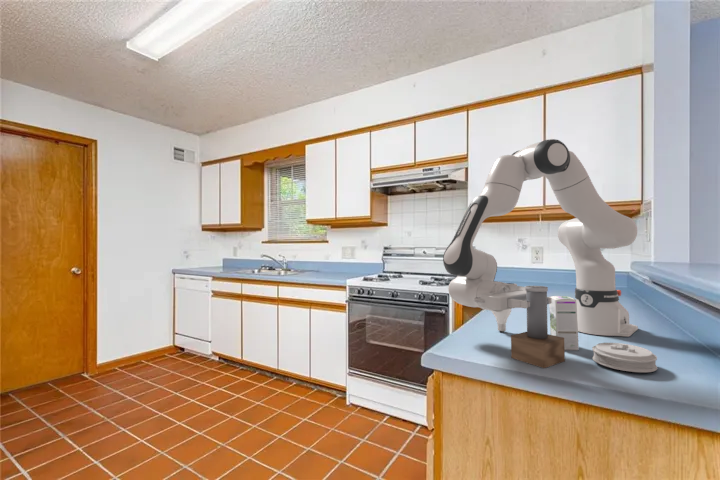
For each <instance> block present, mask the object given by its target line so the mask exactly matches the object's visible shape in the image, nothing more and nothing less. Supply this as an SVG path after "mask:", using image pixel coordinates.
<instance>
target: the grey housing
mask: <svg viewBox="0 0 720 480" xmlns="http://www.w3.org/2000/svg"><path fill="white" fill-rule="evenodd" d="M524 287H526V297H527V301H529V302H530V308H526V332H527V336H528V337H531V338H536V339H546V338H548V334H549V332H548V304H547V297H548V292H549V289H548V288H549V287H548V286H543V285H525V286H524Z"/></svg>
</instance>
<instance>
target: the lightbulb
mask: <svg viewBox="0 0 720 480" xmlns="http://www.w3.org/2000/svg"><path fill="white" fill-rule="evenodd" d="M491 312H492V314H493V315H494V317H495V321H496V322H497V323H496V324H497V331H499V332H501V333H504V332H505V331H506V332H507V328H506V327H507V325H506V324H507V321H508V319H509V317H510V315H511V313H512V309H507V310H503V311H501V312H495V311H491Z"/></svg>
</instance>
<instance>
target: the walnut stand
mask: <svg viewBox="0 0 720 480" xmlns="http://www.w3.org/2000/svg"><path fill="white" fill-rule="evenodd" d="M510 343H511V344H510V347H511V348H510V349H511V350H510V353H511V359H514V360H517V361H520V362H523V363H527V364H529V365H532V366H535V367H540V368H541V369H546V368H549V367H552V366H554V365H559V364H561V363H563V362H565V360H566V359H565V357H566V356H565V351H566V350H565V349H564V338H563V337H558V336H554V335H551V334H549V333H548V338H546V339H536V338H531V337H528V336H527V331H524V332H519V333H516V334H512V335H510Z"/></svg>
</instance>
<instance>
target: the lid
mask: <svg viewBox="0 0 720 480" xmlns="http://www.w3.org/2000/svg"><path fill="white" fill-rule="evenodd" d="M591 348H592V351H593V356H592V360H593V361H594V362H595V363H597V364H599V365H601V366H604V367H606V368H610V369H614V370H618V371H619V370H620V371H624V372H625V371H626V372H630V373H631V372H632V373H652V372H655V371H657V370H658V365H656V361H657V360H658V356H657V355H656V354H654V353H653V352H652V351H651V350H649V349H647V348H644V347H640V346H638V345H637V346H636V345H632V344H628V343H627V344H626V343H622V342H621V343H620V342H600V343H597V344H596V345H593V346H592V347H591Z"/></svg>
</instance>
